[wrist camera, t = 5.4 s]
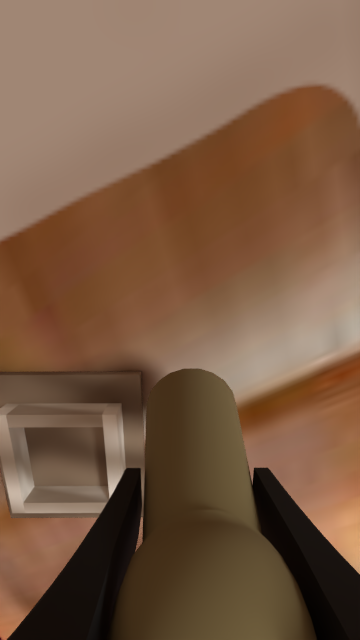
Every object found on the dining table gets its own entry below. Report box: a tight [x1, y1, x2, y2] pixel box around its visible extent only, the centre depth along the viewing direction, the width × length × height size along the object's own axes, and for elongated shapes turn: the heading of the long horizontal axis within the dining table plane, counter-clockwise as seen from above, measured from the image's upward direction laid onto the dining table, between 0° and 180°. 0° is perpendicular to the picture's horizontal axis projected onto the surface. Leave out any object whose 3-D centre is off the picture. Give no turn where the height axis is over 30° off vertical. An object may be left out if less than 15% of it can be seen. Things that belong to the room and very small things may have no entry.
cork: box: [107, 369, 317, 640], centre depth 9 cm, size 6×6×11 cm
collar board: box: [0, 372, 145, 518], centre depth 20 cm, size 16×14×2 cm
